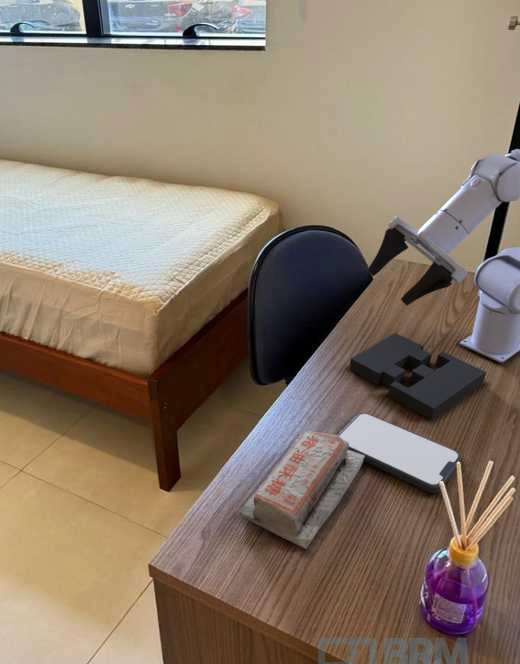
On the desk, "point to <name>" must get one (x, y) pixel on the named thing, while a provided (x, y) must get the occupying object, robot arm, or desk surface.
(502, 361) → the robot arm
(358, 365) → the loose pad
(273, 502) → the packaged product
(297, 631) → the desk surface
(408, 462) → the smartphone
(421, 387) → the pad
